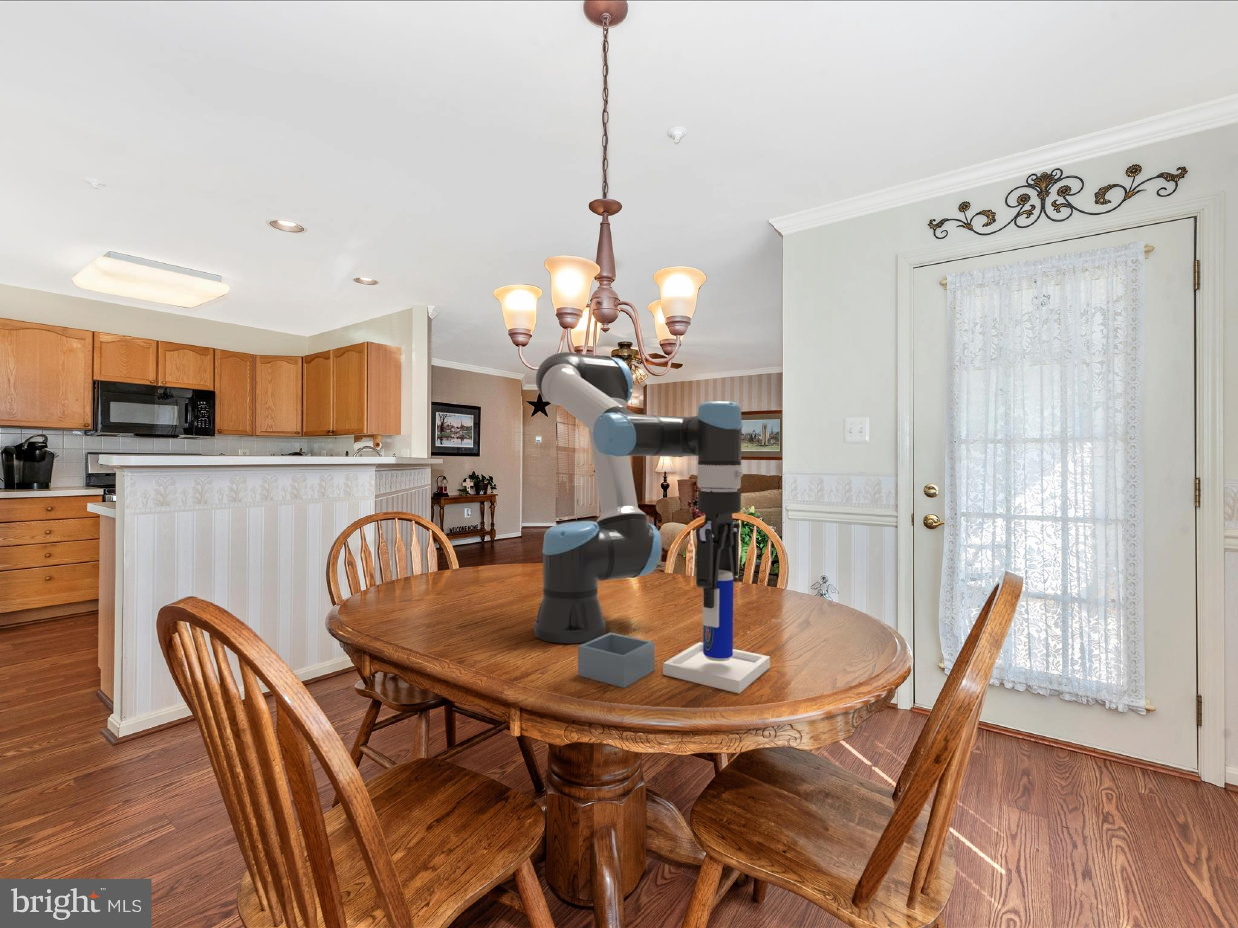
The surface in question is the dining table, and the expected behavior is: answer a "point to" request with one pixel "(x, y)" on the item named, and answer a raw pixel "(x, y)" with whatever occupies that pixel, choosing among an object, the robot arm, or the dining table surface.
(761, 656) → the tray
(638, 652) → the holder sleeve
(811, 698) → the dining table surface
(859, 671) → the dining table surface
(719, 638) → the beverage can
